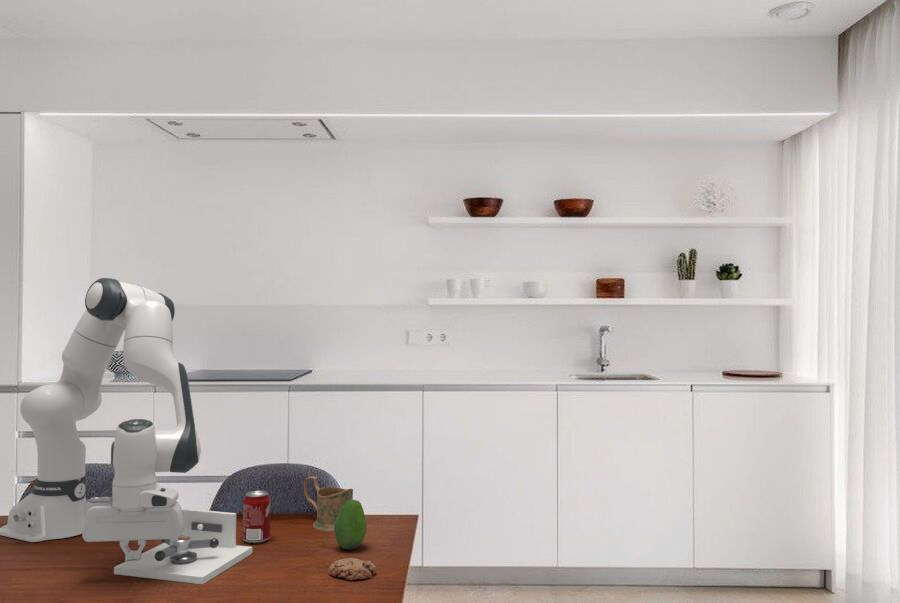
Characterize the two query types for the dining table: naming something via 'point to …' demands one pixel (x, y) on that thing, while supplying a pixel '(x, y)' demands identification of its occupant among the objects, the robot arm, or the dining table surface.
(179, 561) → the capstan
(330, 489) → the tan ceramic pitcher
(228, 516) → the stand
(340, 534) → the fruit
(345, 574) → the cookie
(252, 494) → the soda can
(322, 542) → the dining table surface
